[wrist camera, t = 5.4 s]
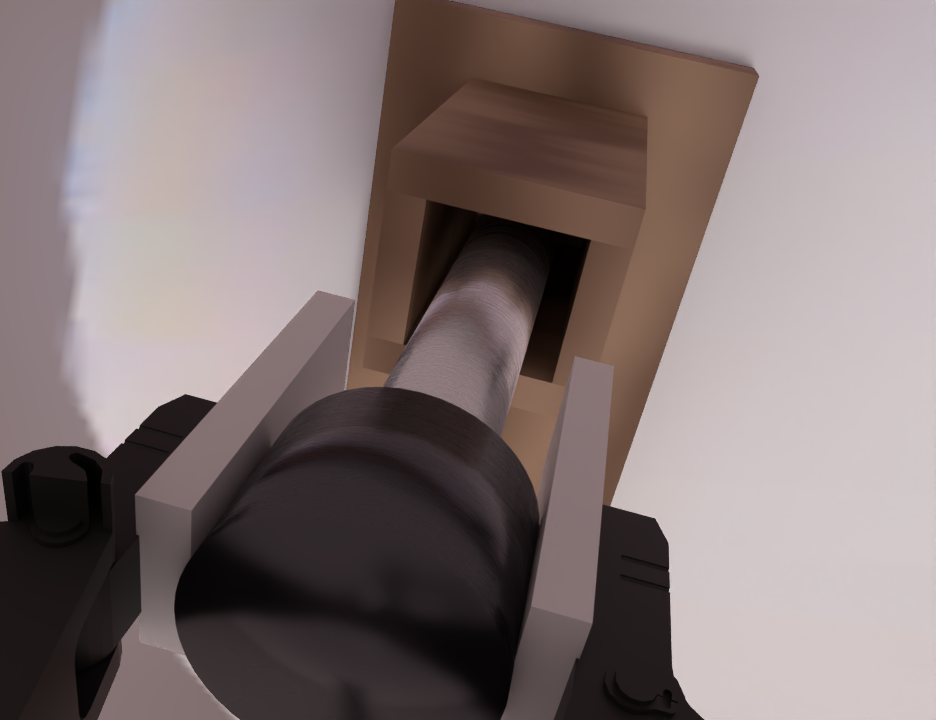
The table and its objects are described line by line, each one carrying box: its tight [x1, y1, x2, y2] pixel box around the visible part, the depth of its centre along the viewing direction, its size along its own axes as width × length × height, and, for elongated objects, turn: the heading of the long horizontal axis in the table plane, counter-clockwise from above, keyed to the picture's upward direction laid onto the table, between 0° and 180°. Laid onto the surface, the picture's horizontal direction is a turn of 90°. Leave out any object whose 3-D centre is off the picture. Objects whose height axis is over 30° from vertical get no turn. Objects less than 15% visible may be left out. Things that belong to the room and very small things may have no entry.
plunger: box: [174, 214, 561, 720], centre depth 18 cm, size 4×4×18 cm
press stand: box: [347, 0, 759, 506], centre depth 30 cm, size 12×30×12 cm, turn 170°
